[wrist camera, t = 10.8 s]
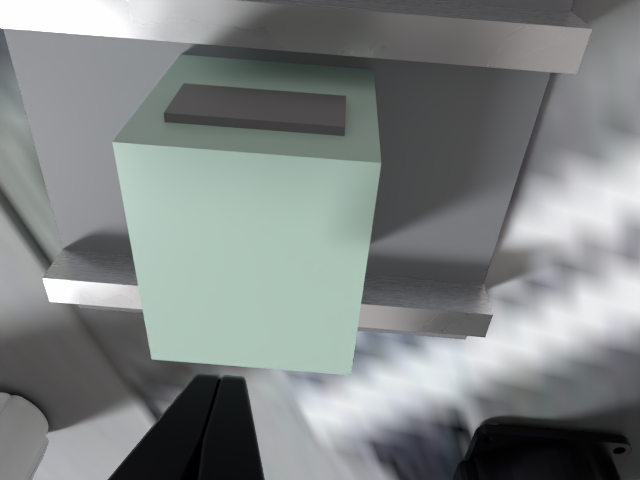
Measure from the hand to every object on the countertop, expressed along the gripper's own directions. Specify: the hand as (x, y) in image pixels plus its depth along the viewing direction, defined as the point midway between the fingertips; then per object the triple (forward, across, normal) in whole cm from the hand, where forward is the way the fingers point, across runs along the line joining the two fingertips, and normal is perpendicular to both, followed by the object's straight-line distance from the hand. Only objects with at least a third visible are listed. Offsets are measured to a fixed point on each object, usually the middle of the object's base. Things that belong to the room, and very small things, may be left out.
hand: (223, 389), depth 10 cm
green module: (+8, 0, 0) cm, 8 cm away
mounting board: (+8, 0, 0) cm, 8 cm away
